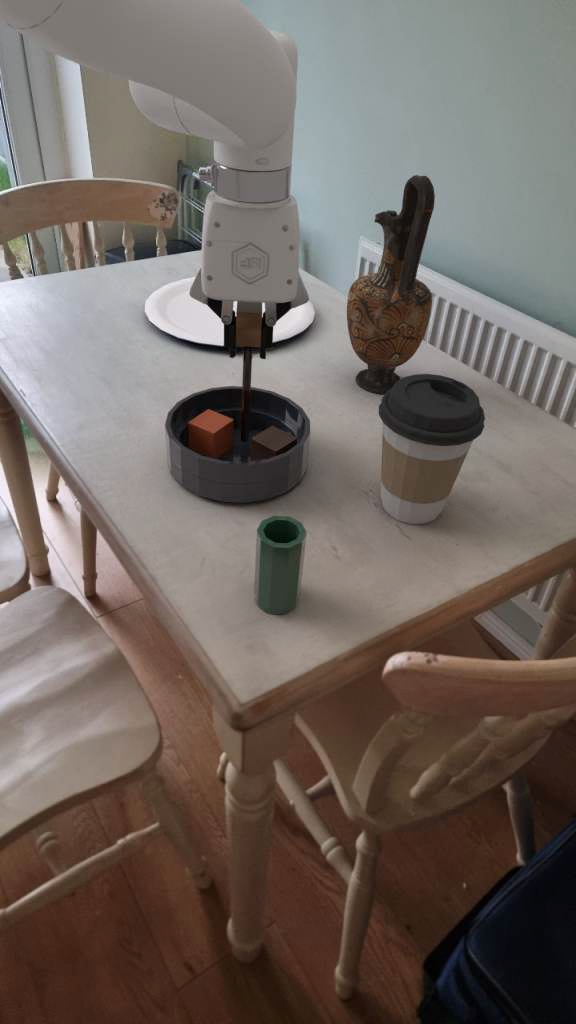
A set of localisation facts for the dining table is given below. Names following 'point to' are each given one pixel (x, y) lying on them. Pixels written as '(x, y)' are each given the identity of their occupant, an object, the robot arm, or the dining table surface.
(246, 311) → the wooden cube mallet
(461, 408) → the coffee cup
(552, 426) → the dining table surface
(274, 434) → the walnut block
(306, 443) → the bowl
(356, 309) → the vase
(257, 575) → the holder
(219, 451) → the terracotta block
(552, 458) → the dining table surface
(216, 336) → the plate
